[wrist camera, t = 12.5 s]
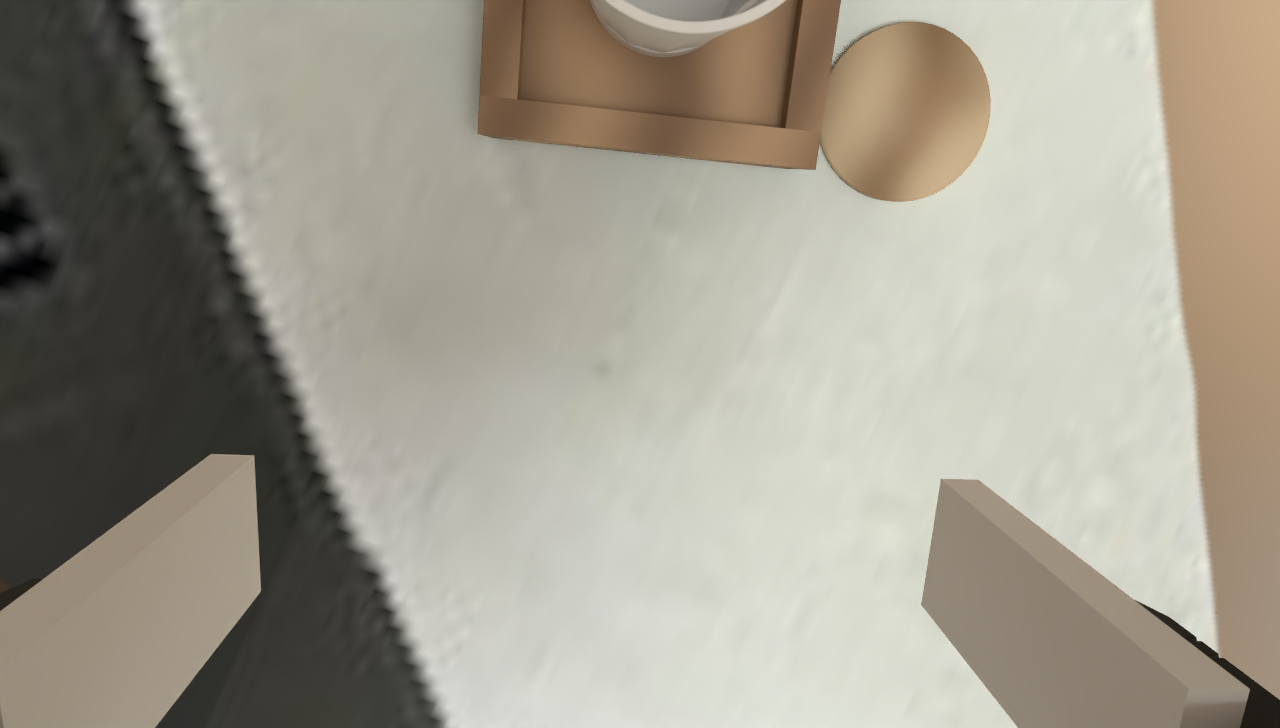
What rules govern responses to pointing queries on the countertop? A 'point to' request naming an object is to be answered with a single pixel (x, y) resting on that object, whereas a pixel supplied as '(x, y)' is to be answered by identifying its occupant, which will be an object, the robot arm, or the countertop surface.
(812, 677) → the countertop surface
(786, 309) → the countertop surface
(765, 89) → the wooden tray
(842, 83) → the coaster
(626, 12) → the cup
